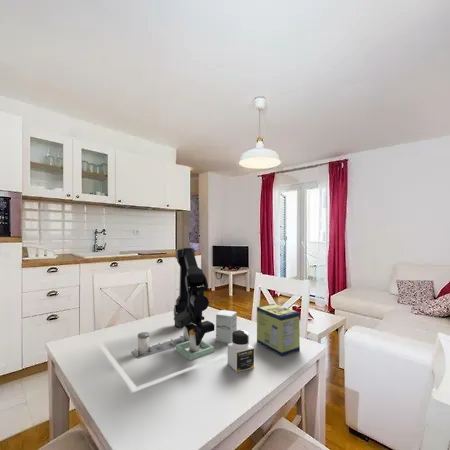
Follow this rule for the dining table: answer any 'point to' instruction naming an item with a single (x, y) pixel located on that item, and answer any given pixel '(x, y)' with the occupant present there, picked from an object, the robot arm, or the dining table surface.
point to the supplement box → (225, 326)
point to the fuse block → (147, 349)
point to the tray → (194, 355)
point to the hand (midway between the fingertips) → (194, 343)
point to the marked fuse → (193, 342)
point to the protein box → (278, 329)
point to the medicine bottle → (240, 351)
